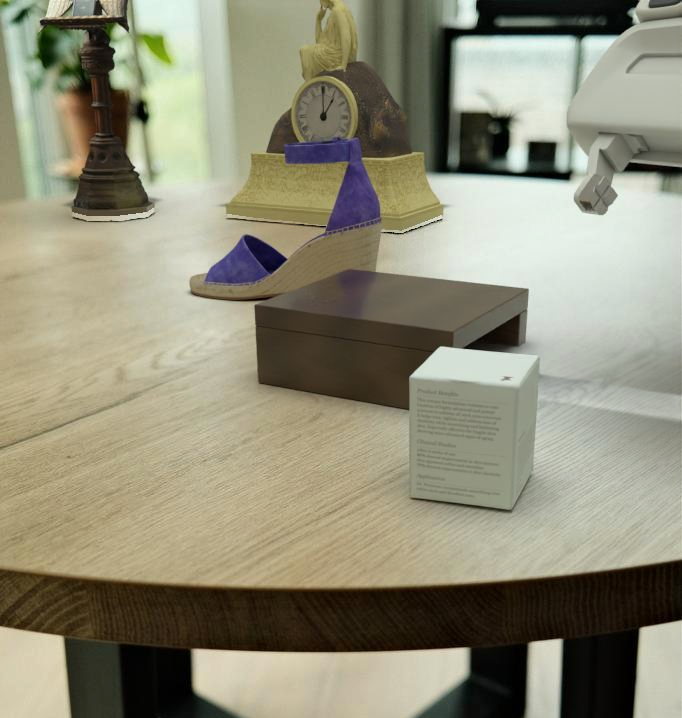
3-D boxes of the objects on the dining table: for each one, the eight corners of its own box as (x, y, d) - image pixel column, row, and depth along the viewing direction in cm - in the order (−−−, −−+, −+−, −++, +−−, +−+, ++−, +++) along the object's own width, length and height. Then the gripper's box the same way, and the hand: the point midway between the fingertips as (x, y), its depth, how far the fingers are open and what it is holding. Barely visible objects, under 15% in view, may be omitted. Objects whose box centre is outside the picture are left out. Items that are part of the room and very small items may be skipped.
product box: (535, 472, 61) (543, 353, 58) (512, 514, 56) (520, 385, 52) (436, 460, 63) (439, 344, 60) (405, 498, 58) (407, 374, 55)
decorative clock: (226, 218, 146) (212, -17, 133) (276, 206, 156) (267, -14, 143) (401, 234, 133) (404, -25, 120) (442, 219, 143) (450, -21, 130)
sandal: (217, 279, 110) (207, 131, 103) (389, 293, 103) (390, 136, 97) (178, 295, 103) (165, 138, 97) (360, 312, 96) (359, 144, 90)
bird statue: (149, 227, 140) (123, -64, 125) (55, 228, 140) (18, -62, 125) (171, 208, 155) (150, -54, 140) (86, 209, 155) (56, -52, 140)
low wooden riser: (524, 363, 81) (529, 288, 78) (450, 417, 70) (453, 331, 67) (349, 338, 88) (348, 268, 85) (257, 382, 77) (253, 304, 75)
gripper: (975, 63, 53) (824, 280, 52) (669, 64, 69) (552, 230, 68) (943, -35, 49) (780, 199, 48) (627, -10, 65) (502, 166, 64)
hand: (644, 217), depth 58 cm, fingers open, 8 cm apart
